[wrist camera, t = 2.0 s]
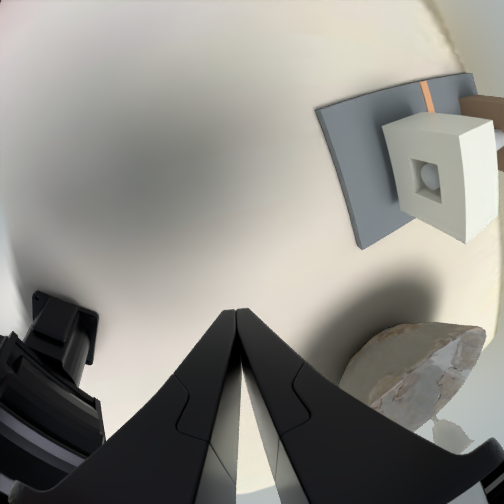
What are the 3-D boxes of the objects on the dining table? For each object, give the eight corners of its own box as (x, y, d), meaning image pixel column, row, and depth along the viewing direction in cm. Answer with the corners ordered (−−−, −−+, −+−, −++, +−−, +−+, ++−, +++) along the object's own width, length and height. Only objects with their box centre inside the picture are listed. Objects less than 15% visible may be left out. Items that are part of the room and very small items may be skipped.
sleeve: (400, 210, 20) (465, 244, 14) (381, 126, 17) (458, 136, 10) (436, 188, 20) (497, 214, 14) (422, 111, 17) (492, 120, 11)
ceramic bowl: (307, 427, 35) (331, 477, 27) (279, 332, 25) (321, 418, 16) (422, 365, 37) (454, 403, 29) (446, 252, 27) (506, 292, 18)
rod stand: (357, 246, 23) (436, 309, 14) (315, 110, 17) (417, 106, 8) (483, 167, 23) (546, 191, 14) (467, 73, 18) (537, 79, 9)
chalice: (396, 409, 43) (438, 470, 27) (410, 389, 40) (458, 454, 24) (420, 397, 45) (461, 452, 29) (433, 377, 42) (480, 435, 26)
